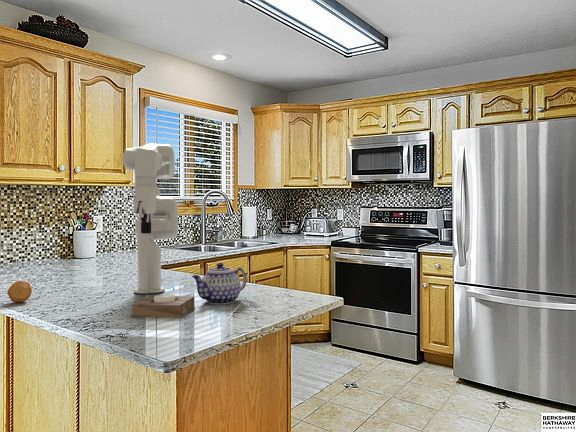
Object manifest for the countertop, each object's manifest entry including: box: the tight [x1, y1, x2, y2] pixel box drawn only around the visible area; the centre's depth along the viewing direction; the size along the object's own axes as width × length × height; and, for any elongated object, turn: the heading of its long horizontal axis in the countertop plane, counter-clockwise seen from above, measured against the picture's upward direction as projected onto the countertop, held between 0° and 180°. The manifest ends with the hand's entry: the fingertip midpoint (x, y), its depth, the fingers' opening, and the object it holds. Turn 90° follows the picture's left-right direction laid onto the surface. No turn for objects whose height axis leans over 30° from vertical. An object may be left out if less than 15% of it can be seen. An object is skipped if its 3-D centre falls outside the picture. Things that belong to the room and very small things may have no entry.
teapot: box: [191, 262, 248, 305], centre depth 175 cm, size 25×15×15 cm, turn 132°
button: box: [153, 294, 176, 303], centre depth 158 cm, size 7×7×4 cm
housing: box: [131, 295, 195, 319], centre depth 158 cm, size 16×16×4 cm
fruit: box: [7, 280, 33, 303], centre depth 176 cm, size 8×8×8 cm
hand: (146, 233), depth 167 cm, fingers closed
